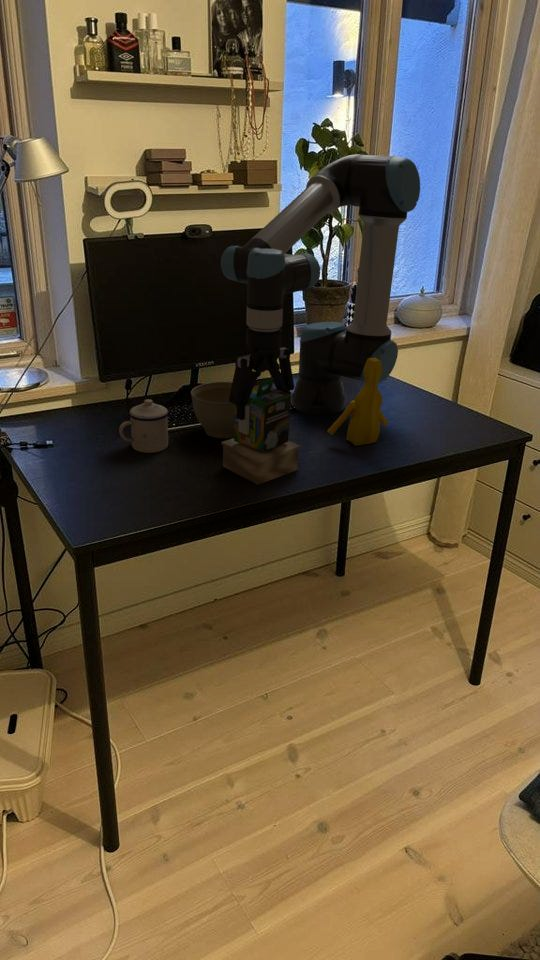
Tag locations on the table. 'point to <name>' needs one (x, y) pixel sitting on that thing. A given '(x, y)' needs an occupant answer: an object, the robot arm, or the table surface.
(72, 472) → the table surface
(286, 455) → the plinth
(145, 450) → the teacup with lid
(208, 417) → the planter bowl
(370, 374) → the figure statuette
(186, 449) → the table surface
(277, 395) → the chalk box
